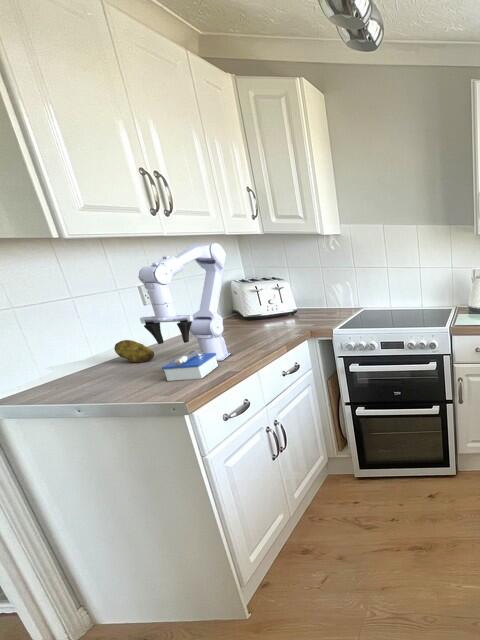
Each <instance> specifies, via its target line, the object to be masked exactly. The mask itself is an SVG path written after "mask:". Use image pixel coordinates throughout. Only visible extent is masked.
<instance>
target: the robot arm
mask: <svg viewBox="0 0 480 640" xmlns="http://www.w3.org/2000/svg"><path fill="white" fill-rule="evenodd" d="M226 256H227V253H226V252H225V250H224V248H223V246H222V245H221V244H219V243H216V242H213V243H195V242H193V243H191V244H189V245H187V247H186V248H185V249H184V250H182V251H180V252H179V253H178V254H177V255H174V256H172V255H163V256H162V257H161V259H160V260H158V261H154V262H152V263H151V266H143V267H141V268H140V270H139V271H138V275H137V278H138V280H139V281H140V282H141V283H142V284H143V286H144V289H145V290H147V293H148V297H149V300H150V303H151V307H152V310H153V314H154V316H151V315H150V316H142V317H139V321H140V323H141V324H142V325H143V324H144V325H143V327H144V329H146V330H147V331H148V332H149V333H150V334H151V335H152V337H153V338H154V340H155V341H156V342H157V344H158V345H162V344H164V337H163V335H162V330H161V323H176V325H177V327H178V329H179V332H180V334H181V338H182V341H183V343H184V344H186V343H188V342H190V334H191V335H193V336H194V338H196V339H197V342H198V346H199V351H204V352H205V354H206V353H216V355H215V357H216V361H217V362H220V361H221V362H222V361H224V360H225V359H226V358H227V357H229V356H230V355H231V354H232V353H231V352H228V348H227V344H226V341H225V338H224V337H223V336H222V334H223V332H224V324H223V323H224V318H223V317H222V316H221V315H220V314H219V313H218V310H219V302H220V298H221V291H222V285H223V279H224V273H225V264H226V258H227V257H226ZM193 261H195V262H196V263H197V265H198V266H200V268H201V269H203V270H205V277H204V282H203V287H202V293H201V299H200V305H199V310H197V311H196V312H195V313H193V314H177V311H176V307H175V304H174V299H173V296H172V293H171V289H170V286H169V284H170V283H171V281H172V278H173V277H174V276H176V275H178V274H180V273H181V272H183V270H184V266H185V265H187V264H189V263H191V262H193Z"/></svg>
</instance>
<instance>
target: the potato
mask: <svg viewBox="0 0 480 640" xmlns="http://www.w3.org/2000/svg"><path fill="white" fill-rule="evenodd" d="M113 349H114V351H115V354H116V355H118V357H120V358H122V359H125V360H127V361H128V362H129V363H144V362H149V361H151V360H153V359H154V358H155V352H154V351H153V350H152V349H151V348H150V347H148V346H147V345H144V344H143V343H141V342H137V341H135V340H132V339H124V340H120V341H119V342H116V343H115V345H114V348H113Z"/></svg>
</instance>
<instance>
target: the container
mask: <svg viewBox="0 0 480 640" xmlns="http://www.w3.org/2000/svg"><path fill="white" fill-rule="evenodd" d="M215 355H216V353H206V354H205V355H203V356H199V357H195V358H193V359H191V360H190V361H188V362H187V363H185V364H183V365H181V366H178V365H176V364H175V359H173V360H172V361H170V362H168V363H166V364H164V365H163V366H161V370H163V371H164V374H165V377H166V380H167V382H174V381H185V380H198V379H203V378H204V377H206V376H207V375H209V374H210V373H211V372H212V371H214V370H215V369H216V368H218V367H219V365H218V361H216V357H215Z"/></svg>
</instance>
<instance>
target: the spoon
mask: <svg viewBox="0 0 480 640" xmlns="http://www.w3.org/2000/svg"><path fill="white" fill-rule="evenodd" d="M203 355H205V352H204V351H201V350H194V349H191V350H189V351H187V352H186V353H183V354H181V355H180V356H178V357H176V358H175V359H174V360H175V364H176V365H178V366H181V365H183V364H185V363H187V362H188V361H190V360H191V359H193V358H195V357H199V356H203Z"/></svg>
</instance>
